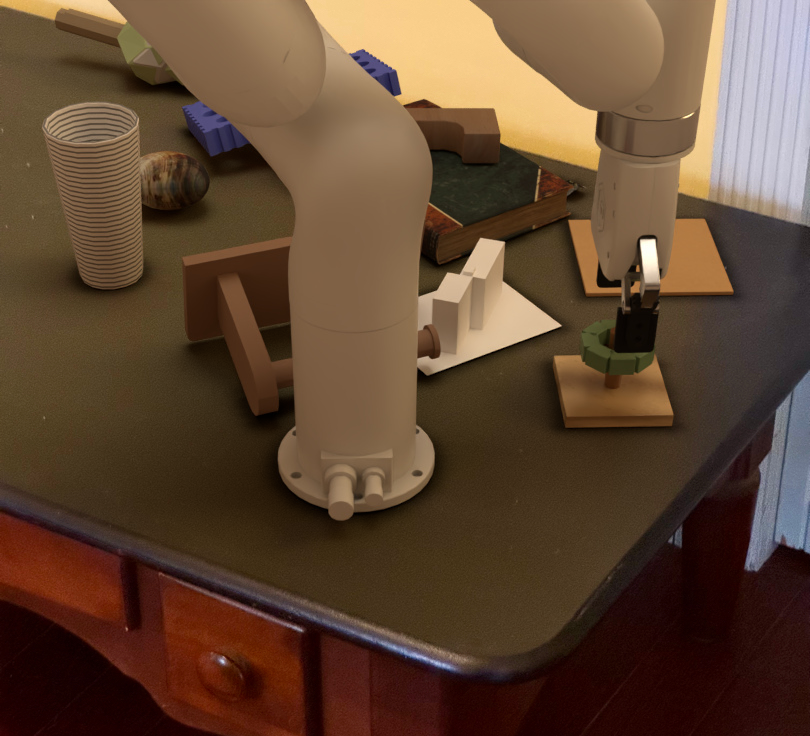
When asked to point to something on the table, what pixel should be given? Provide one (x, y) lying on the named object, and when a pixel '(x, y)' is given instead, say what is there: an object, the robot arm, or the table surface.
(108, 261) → the cup
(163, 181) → the seashell
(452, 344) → the napkin holder
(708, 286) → the cork mat
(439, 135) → the wooden block
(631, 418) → the ring peg
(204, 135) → the blue perforated plate
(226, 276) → the toilet paper hanger
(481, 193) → the book
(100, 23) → the decorative object
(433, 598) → the table surface
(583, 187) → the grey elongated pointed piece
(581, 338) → the ring
